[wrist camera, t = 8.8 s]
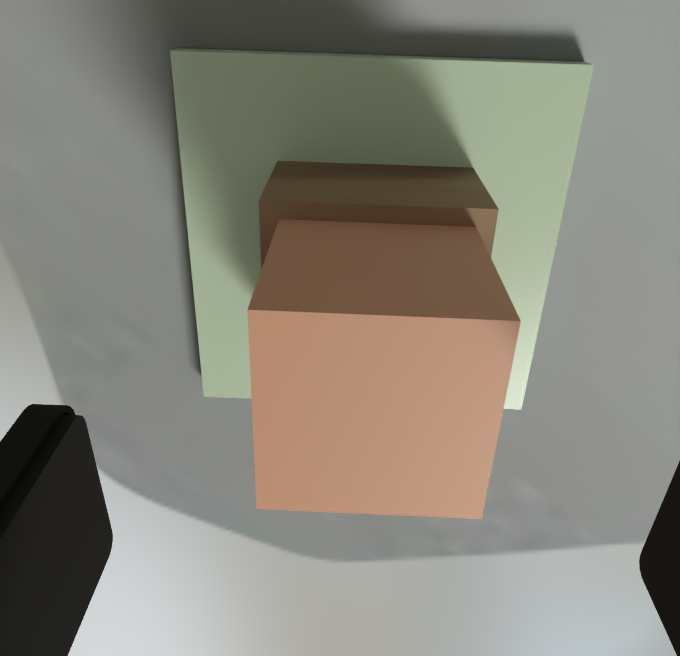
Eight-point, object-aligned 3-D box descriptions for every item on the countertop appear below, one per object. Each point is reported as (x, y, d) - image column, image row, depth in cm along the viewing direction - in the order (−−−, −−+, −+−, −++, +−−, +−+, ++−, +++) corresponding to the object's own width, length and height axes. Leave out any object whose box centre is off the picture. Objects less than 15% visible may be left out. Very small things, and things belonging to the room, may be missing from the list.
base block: (277, 160, 19) (258, 200, 15) (473, 167, 19) (498, 209, 15) (281, 330, 22) (265, 396, 18) (450, 337, 22) (467, 404, 18)
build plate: (177, 48, 18) (169, 50, 17) (585, 62, 18) (594, 65, 17) (208, 384, 24) (203, 396, 23) (516, 397, 24) (521, 409, 23)
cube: (279, 219, 16) (247, 309, 11) (476, 227, 16) (521, 321, 11) (282, 382, 18) (256, 508, 14) (452, 389, 18) (481, 519, 14)
